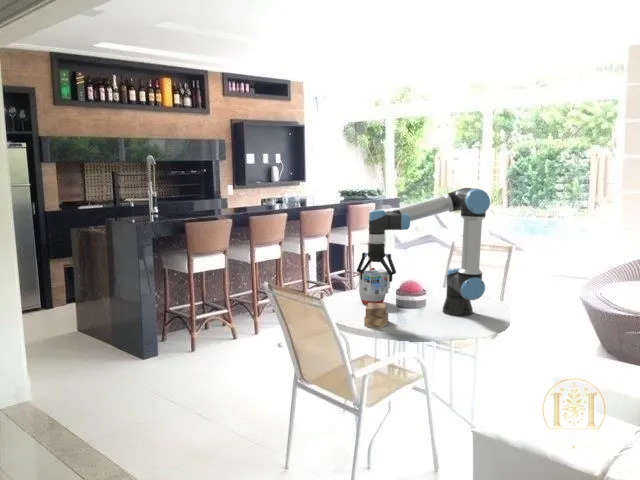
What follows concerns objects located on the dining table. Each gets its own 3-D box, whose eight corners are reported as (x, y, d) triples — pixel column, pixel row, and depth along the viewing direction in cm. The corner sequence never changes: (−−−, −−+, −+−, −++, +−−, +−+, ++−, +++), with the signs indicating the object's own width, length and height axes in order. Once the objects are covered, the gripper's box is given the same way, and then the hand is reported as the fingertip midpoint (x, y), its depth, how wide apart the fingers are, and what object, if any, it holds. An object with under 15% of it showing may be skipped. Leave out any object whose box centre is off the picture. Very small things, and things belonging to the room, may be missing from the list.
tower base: (388, 321, 288) (388, 312, 287) (382, 328, 277) (382, 319, 276) (370, 320, 291) (370, 311, 290) (364, 326, 279) (364, 317, 279)
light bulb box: (370, 295, 276) (370, 273, 275) (362, 292, 282) (363, 270, 280) (389, 293, 281) (389, 271, 279) (381, 290, 287) (381, 269, 285)
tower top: (386, 312, 288) (386, 303, 288) (384, 318, 276) (384, 309, 276) (368, 311, 290) (368, 302, 289) (365, 317, 278) (365, 308, 277)
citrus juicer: (389, 307, 315) (389, 270, 313) (357, 305, 318) (357, 269, 316) (390, 300, 331) (390, 265, 328) (359, 299, 333) (359, 264, 331)
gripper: (403, 242, 278) (402, 287, 281) (354, 240, 286) (354, 284, 288) (399, 244, 271) (399, 290, 274) (350, 242, 279) (350, 287, 281)
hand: (376, 287), depth 281 cm, fingers closed on light bulb box, 11 cm apart
